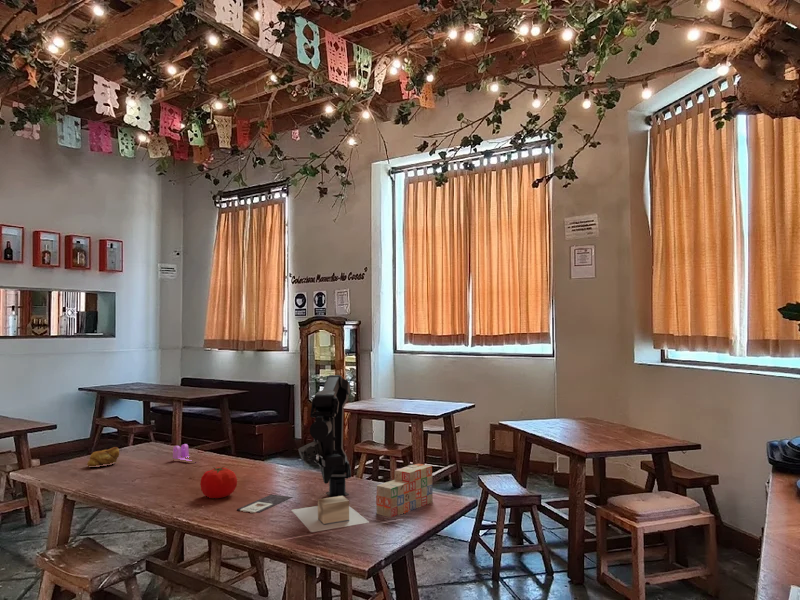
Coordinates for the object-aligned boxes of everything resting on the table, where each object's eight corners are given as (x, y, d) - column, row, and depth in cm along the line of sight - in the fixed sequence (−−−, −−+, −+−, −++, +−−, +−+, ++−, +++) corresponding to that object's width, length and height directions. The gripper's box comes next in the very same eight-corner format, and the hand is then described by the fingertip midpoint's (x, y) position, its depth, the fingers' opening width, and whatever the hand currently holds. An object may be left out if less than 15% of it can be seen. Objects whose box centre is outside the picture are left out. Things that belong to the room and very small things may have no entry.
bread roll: (91, 470, 245) (91, 451, 246) (81, 467, 252) (81, 448, 252) (121, 464, 255) (121, 446, 256) (111, 461, 262) (111, 444, 262)
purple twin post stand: (172, 461, 261) (172, 445, 261) (183, 458, 266) (183, 443, 266) (190, 464, 254) (190, 448, 254) (201, 461, 258) (201, 446, 259)
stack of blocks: (391, 519, 176) (390, 478, 176) (376, 515, 180) (375, 475, 180) (433, 502, 192) (432, 465, 193) (418, 499, 196) (417, 462, 197)
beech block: (323, 504, 170) (323, 525, 170) (349, 500, 174) (349, 520, 173) (317, 499, 176) (317, 519, 176) (342, 495, 179) (342, 515, 179)
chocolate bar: (292, 497, 199) (259, 512, 183) (292, 499, 199) (259, 515, 183) (271, 494, 203) (236, 509, 187) (271, 497, 203) (236, 512, 187)
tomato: (205, 492, 208) (205, 464, 209) (240, 492, 208) (240, 463, 209) (194, 502, 197) (194, 471, 197) (231, 501, 197) (231, 470, 198)
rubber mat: (291, 511, 185) (291, 509, 185) (344, 503, 193) (344, 501, 193) (311, 533, 164) (311, 532, 164) (369, 523, 172) (369, 522, 172)
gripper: (292, 431, 187) (293, 479, 187) (309, 441, 170) (309, 494, 170) (325, 427, 192) (326, 475, 192) (344, 437, 175) (345, 489, 175)
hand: (326, 483), depth 182 cm, fingers closed
